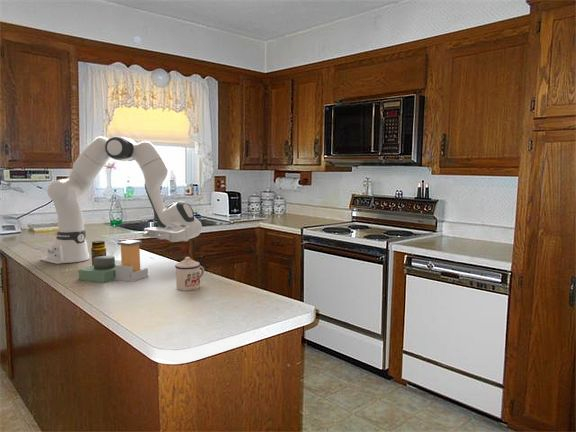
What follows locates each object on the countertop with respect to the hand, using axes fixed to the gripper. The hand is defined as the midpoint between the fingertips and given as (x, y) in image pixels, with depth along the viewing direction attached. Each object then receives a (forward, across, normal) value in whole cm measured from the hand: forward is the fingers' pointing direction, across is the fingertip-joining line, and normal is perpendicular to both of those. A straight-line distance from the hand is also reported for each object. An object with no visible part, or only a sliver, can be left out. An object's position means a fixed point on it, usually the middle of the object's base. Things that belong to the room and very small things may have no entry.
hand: (151, 236), depth 190 cm
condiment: (+7, -26, +16) cm, 31 cm away
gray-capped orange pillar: (+12, +1, +14) cm, 19 cm away
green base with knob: (+13, -6, +16) cm, 21 cm away
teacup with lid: (+10, +31, +15) cm, 36 cm away
